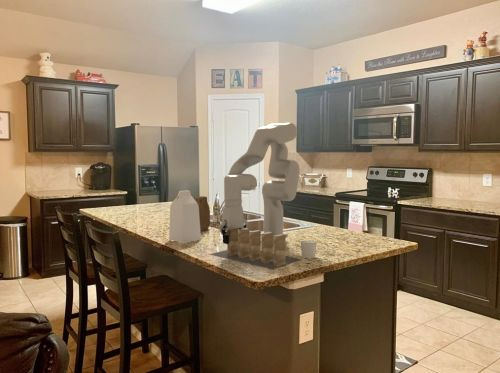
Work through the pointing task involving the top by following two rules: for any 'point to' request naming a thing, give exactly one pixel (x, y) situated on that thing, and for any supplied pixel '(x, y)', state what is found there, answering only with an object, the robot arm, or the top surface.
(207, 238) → the top surface
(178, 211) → the milk
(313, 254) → the shot glass
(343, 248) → the top surface
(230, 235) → the end domino
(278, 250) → the domino
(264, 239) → the domino
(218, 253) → the mat
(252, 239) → the domino
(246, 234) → the domino
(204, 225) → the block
